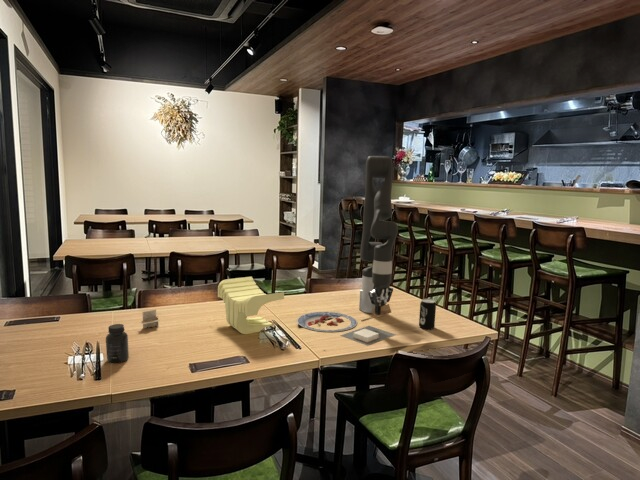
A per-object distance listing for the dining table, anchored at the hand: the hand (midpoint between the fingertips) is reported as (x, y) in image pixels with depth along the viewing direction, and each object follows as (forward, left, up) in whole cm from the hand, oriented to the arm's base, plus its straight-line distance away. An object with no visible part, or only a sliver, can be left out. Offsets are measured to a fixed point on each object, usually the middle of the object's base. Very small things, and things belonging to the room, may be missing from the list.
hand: (380, 313), depth 181 cm
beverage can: (+6, +25, -10) cm, 28 cm away
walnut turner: (-1, 0, -2) cm, 2 cm away
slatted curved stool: (-43, -33, -10) cm, 55 cm away
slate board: (-2, -5, -10) cm, 11 cm away
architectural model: (-68, -64, -10) cm, 94 cm away
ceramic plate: (-24, -6, -10) cm, 26 cm away
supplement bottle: (-45, -86, -10) cm, 97 cm away
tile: (-4, -8, -7) cm, 12 cm away
